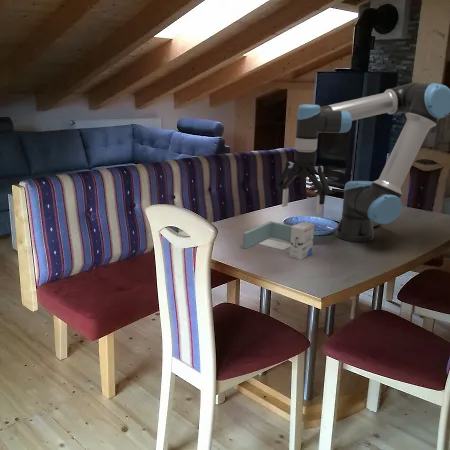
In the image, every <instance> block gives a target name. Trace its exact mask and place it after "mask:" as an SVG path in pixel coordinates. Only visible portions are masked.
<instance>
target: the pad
mask: <svg viewBox="0 0 450 450" xmlns="http://www.w3.org/2000/svg"><path fill="white" fill-rule="evenodd" d="M258 245H261V246H264V247H269V248H273V249H276V250H279V251H280V250H281V251H285V250H287V249H290V243H287V242H283V241H277V240H274V239H270V238H268V239H266V240H263V241H261V242H259V243H258Z"/></svg>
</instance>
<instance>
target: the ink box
mask: <svg viewBox="0 0 450 450" xmlns="http://www.w3.org/2000/svg"><path fill="white" fill-rule="evenodd" d="M291 226H292V227H291V241H290V243H289V244H290V247H289V257H290V258H293V259H297V260H299V261H300V260H302V259H304V258H306V257H308V256H310V255H312V253H313V246H314V241H313V234H314V235H315V224H314V223H311V222H306V221H302V222H300V223H296V224H294V225H291Z"/></svg>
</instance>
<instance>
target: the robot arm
mask: <svg viewBox="0 0 450 450" xmlns="http://www.w3.org/2000/svg"><path fill="white" fill-rule="evenodd" d="M296 114H297V115H296V129H295V142H294V143H295V144H294V149H295V150H294V157H293V159H294V162H292V161H287V162H285V167H284V169H283V171H282V173H281V174H280V176H279V179H278V181H277V182H276V186H277V187H279V188H280V198H282V200H281V201H282V203H281V207H283V208H285V207H287V206H288V204H289V202H288V201H289V190H290V189H289V188H288V187H289V185H290V184H291V183H292V182H293V181H294V180H295V179H296V178H297V177H303V178H308V179H309V181H311V183H312V184H313V186H314V188H315V190H316V191H317V193H318V194H317V196H316V205H315V206H316V208H315V214H316V215H318V214H320V213H322V210H323V209H322V206H323V205H324V204H325V201H326V195H329V194H331V193H332V191H331V189H330V185H329V182H328V180H327V177H326V174H325V166H323V165H320V166H316V162H317V151H316V150H317V149H318V138H319V134H322V133H323V134H324V133H325V134H327V133H328V134H334V133H335V134H337V133H338V134H341V133H342V134H344V133H348V132H349V131H350V130H351V129H352V125H353V124H352V123H353V121H357V120H361V119H364V118H365V119H366V118H370V117H373V116H377V115H382V114H388V115H395V114H404V115H405V117H406V122H405V123H404V126H403V127H402V130H401V132H400V134H399V136H398V138H397V139H396V142H395V145H394V146H393V149H392V151H391V153H390V154H389V157H388V159H387V161H386V162H385V165H384V167H383V169H382V171H381V173H380V175H379V178H378V179H376V180H374V181H369V180H351V181H350V180H349V181H347V182H346V183H345V184H344V189H343V202H342V209H341V210H342V211H341V212H342V213H341V217H340V220H339V223H338V224H337V227H336V228H335V229H336V230H335V236H336V237H337V238H339V239H341V240H344V241H348V242H354V243H365V242H371V241H373V240H374V238H375V232H374V231H375V230H374V226H373V223H377V224H379V225H388V224H389V223H392V222H394V221H395V220H396V219H398V217H399V216H400V215H401V213H402V210H403V209H402V208H403V206H402V201H401V197H402V196H403V192H402V190H401V188H402V186H403V184H404V182H405V181H406V178H407V175H408V173H410V170H411V167H412V166H413V164H414V161H415V159H416V158H417V155H418V153H419V151H420V149H421V147H422V145H423V143H424V141H425V139H426V137H427V135H428V133H429V131H430V129H432V128H434V127H436V126H437V124H438V122H439V120H440V119H443V118H445V117H446V116H448V115H449V114H450V88H449V87H448V86H447V85H444V84H440V83H438V82H437V83H436V82H433V83H430V82H429V83H425V82H412V83H411V82H410V83H407V84H403V85H401V86H399V85H398V86H395V87H391V88H388V89H387V88H386V90H385V91H384V92H382V93H376V94H372V95H369V96H364V97H359V98H356V99H350V100H346V101H342V102H337V103H333V104H329V105H323V106H320V105H319V104H310V103H308V104H306V103H305V104H300V105H298V107H297V113H296ZM292 169H293V170H294V171H293V172H292V173H291V174H290V175H289V173H290V171H291V170H292ZM315 171H316V173H317V175H318V178H319V179H318V178H317V175H316V173H315ZM287 177H288V178H287Z"/></svg>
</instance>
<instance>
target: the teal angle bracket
mask: <svg viewBox="0 0 450 450" xmlns="http://www.w3.org/2000/svg"><path fill="white" fill-rule="evenodd" d="M292 226H293V225H291V224H286V223H282V222H281V223H280V222H276V221H272V220H270V221H267V222H265V223H263V224H260V225H258V226H255V227H254V228H251V229H249V230H247V231H244V232H243V233H242V249H248V248H251V247H253V246H255V245H257V244H259V243H261V242H263V241H265V240H267V239H270V238H275V239H279V240H283V241H287V242H291V227H292ZM314 239H315V233H314V234H313V242H314Z"/></svg>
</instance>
